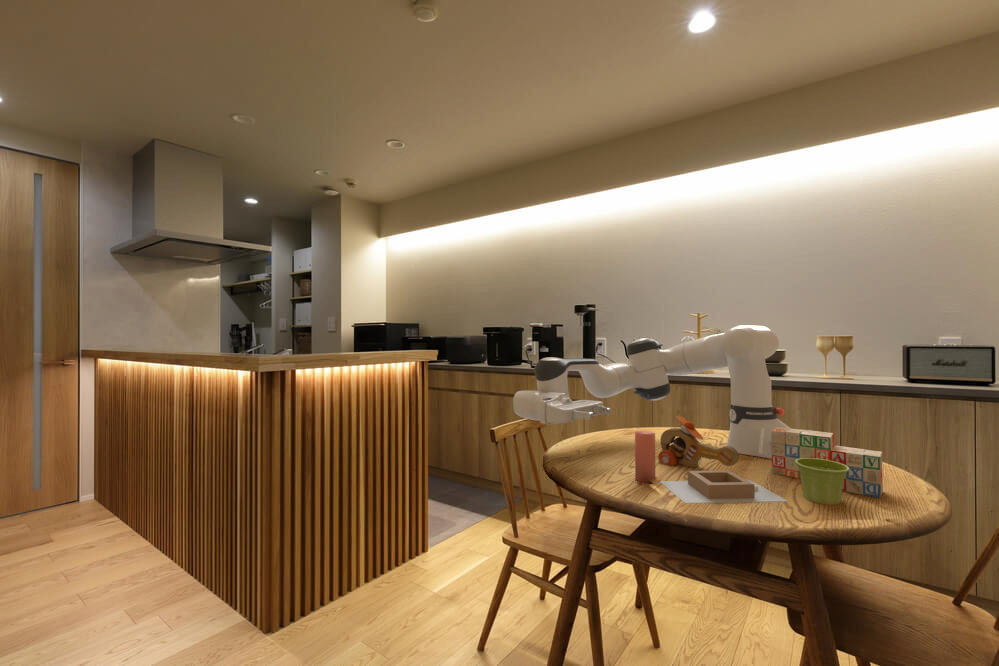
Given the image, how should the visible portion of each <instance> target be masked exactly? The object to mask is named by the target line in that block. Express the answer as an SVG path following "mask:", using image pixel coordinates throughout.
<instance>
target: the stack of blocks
mask: <svg viewBox="0 0 999 666" xmlns="http://www.w3.org/2000/svg"><path fill="white" fill-rule="evenodd" d="M790 428H791V427H790ZM790 428H782V427H776V428H775V429H773V430H772V431H771V454H772V458H771V474H775V475H780V476H786V477H791V478H792V477H793V478H797V479H801V476H800V471H799V469H798V465H797V464H796V462H795V460H796V459H800V458H817V459H825V460H830V461H834V462H838V463H841V464H844V465H846V466H848V467H849V471H848V472H847V473H846V477H845V478H844V482H843V487H842V492H846V493H853V494H857V495H863V496H867V497H874V498H877V499H878V498H879V499H880V498H882V494H883V491H884V490H883V489H884V487H883V486H884V485H883V451H880V450H879V451H878V450H870V449H865V448H855V447H848V446H844V445H843V446H841V445H835V440H834V439H835V438H834V437H835V436H834V432H825V431H818V430H811V429H810V430H808V429H798V428H791V429H790Z"/></svg>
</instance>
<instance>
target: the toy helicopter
mask: <svg viewBox="0 0 999 666" xmlns="http://www.w3.org/2000/svg"><path fill="white" fill-rule="evenodd" d="M675 419H677V420H678V421H679V422H680V423H681V425H680V427H672V428H669V429H666V430H665V431H663V432H662V433H661V436H660V447H661V451H660V452H659V454H658V457H657V459H658V463H660V464H663V465H668V466H676V464H679V465H681V466H682V465H683V466H687V467H691V468H698V467H699V461H700V460H701V458H705V459H710V460H716V461H718V462H720V463H721V464H722V465H724V466H727V467H729V466H733V465H734V466H735V465H736V464H738V462H739V460H740V453H738V452H737V451H736V449H734V448H733V447H731V446H726V445H724V446H722V447H717V446H713V445H710V444H705V443H701V442H700V441H699V440H704V436H702V434H700V432H699V431H698V430H697V429H696V428H695V424H694V423H693V422H692V421H688V420H687V419H686V418H685V417H683V416H680V415H675Z"/></svg>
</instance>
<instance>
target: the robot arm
mask: <svg viewBox="0 0 999 666" xmlns="http://www.w3.org/2000/svg"><path fill="white" fill-rule="evenodd" d="M779 343H780V341H779V337H778V335H777V334H776V333H775V332H774V331H773V330H771V329H769V328H768V327H766V326H764V325H752V324H751V325H744V324H743V325H741V324H740V325H735V326H733V327H731V328H729V329H728V330H726V331H725V332H723V333H718V334H712V335H708V336H704V337H699V338H697V339H693V340H689V341H686V342H685V341H684V342H682V343H679V344H676V345H674V346H672V347H669V348H667V349H661V348H659V347H663V346H664V344H662V343H661V344H660V343H659V342H658V341H656V340H655V339H654V338H653V339H652V338H651V337H649V338H646V337H640V338H636V339H634V340H633V341H631V342H630V343H628V345H627V346H626V354H627V356H628V361H629V365H628V364H627V363H624V362H612V363H606V364H601V362H600V361H599V360H598V359H595V358H586V357H584V358H583V357H577V358H576V357H575V358H572V357H570V358H568V357H567V358H560V357H553V356H550V357H548V356H547V357H543V358H541V359H539V360H538V361H537V363H536V364H535V366H534V367H533V370H534V377H535V379H536V386H537V390H532V389H529V390H528V389H527V390H518V391H516V392H515V394H514V396H513V398H512V408H513V411H514V413H515V415H517V416H518V417H521V418H523V419H527V420H532V421H539V423H540V424H542V425H549V424H554V425H565V424H567V423H571V422H574V421H579V420H587V421H588V420H592V419H593V417H595V416H599V415H605V416H609V415H611V414H612V408H611V407H606V406H604V402H603V401H600V400H588V399H580V400H574V401H573V399H571V397H570V392H569V382H568V381H569V380H568V373H569V372H571V371H572V372H575V371H577V372H579V374H580V376H581V378H582V382H583V385H584V387H585V389H586V390H587V391H588V392H589V394H591V395H592V396H594V397H596V398H598V399H606V398H610V397H614V396H617V395H619V394H620V393H623V392H625V391H627V390H629V389H634V391H633V394H635V395H638V396H639V397H640V398H642V399H644V400H646V401H660V400H662V399H664V398H666V396H668V395H669V394H670V393H671V384H670V382H669V377H668V375H670V376H687V375H693V374H694V375H695V374H700V373H702V372H708V371H712V370H717V369H721V368H727V367H728V372H729V379H730V403H729V422H730V425H729V433H728V437H727V442H726V445H725V446H731V447H733V448H734V449H736V451H737V452H738V454H739V455H746V456H747V455H748V456H753V457H760V458H764V459H772V454H771V431H772V430H773V429H775V428H776V427H782V428H790V429H792V428H791V427H790V426H788V425H787V424H786V423H784V422H783V421H781V420H780V419H779V418H778V415H780V416H784V415H785V413H786V411H785V409H784V408H781V407H774V406H773V404H772V379H771V378H770V375H769V372H768V368H767V363H766V359H768V358H770V357H772V356H773V355H774V354H775V353H776V352H777V350H778V348H779V346H780V345H779Z"/></svg>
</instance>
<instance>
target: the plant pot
mask: <svg viewBox="0 0 999 666" xmlns="http://www.w3.org/2000/svg"><path fill="white" fill-rule="evenodd" d="M795 462H796V464H797V465H798V469H799V471H800V476H801V478H800V480H801V487H802V489H801V490H802V494H803V498H804V499H806V500H808V501H811V502H813V503H816V504H817V503H818V504H822V505H838V504H841V498H842V497H841V496H842V492H843V491H842V487H843V482H844V478H845V477H846V473H847V472H848V471H849V467H848V466H846V465H844V464H841V463H838V462H834V461H830V460H825V459H817V458H800V459H796V460H795Z"/></svg>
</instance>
